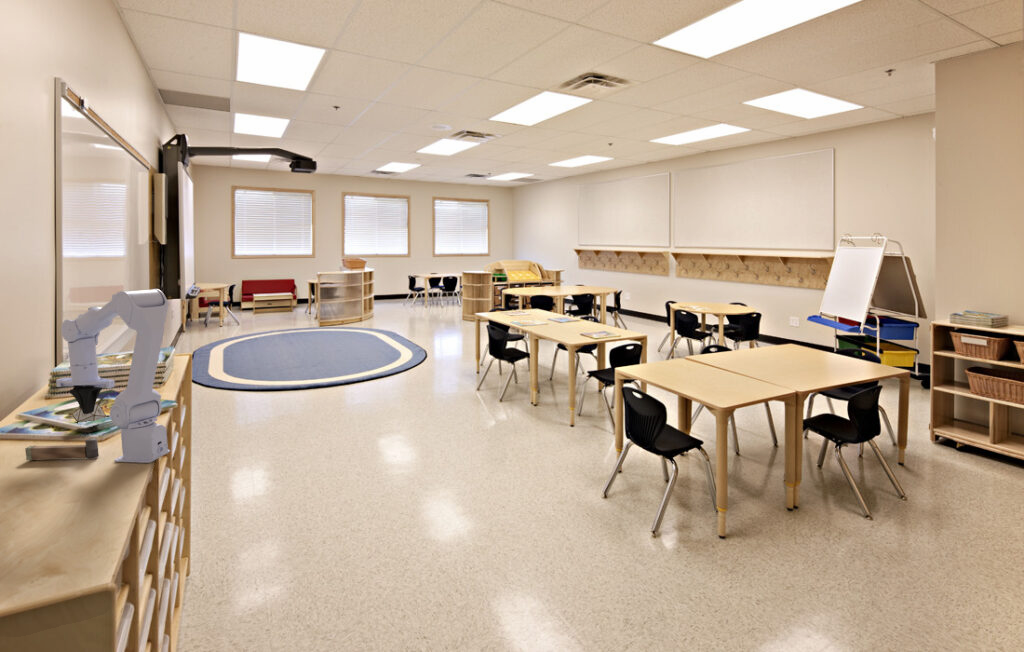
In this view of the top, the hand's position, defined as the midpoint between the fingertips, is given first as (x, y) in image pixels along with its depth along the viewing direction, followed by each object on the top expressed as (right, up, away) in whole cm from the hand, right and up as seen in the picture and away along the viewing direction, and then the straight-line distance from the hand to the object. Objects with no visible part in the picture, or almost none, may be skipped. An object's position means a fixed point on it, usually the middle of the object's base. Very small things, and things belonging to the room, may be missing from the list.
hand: (88, 412), depth 146 cm
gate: (0, -10, -8) cm, 13 cm away
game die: (-12, -7, +16) cm, 21 cm away
